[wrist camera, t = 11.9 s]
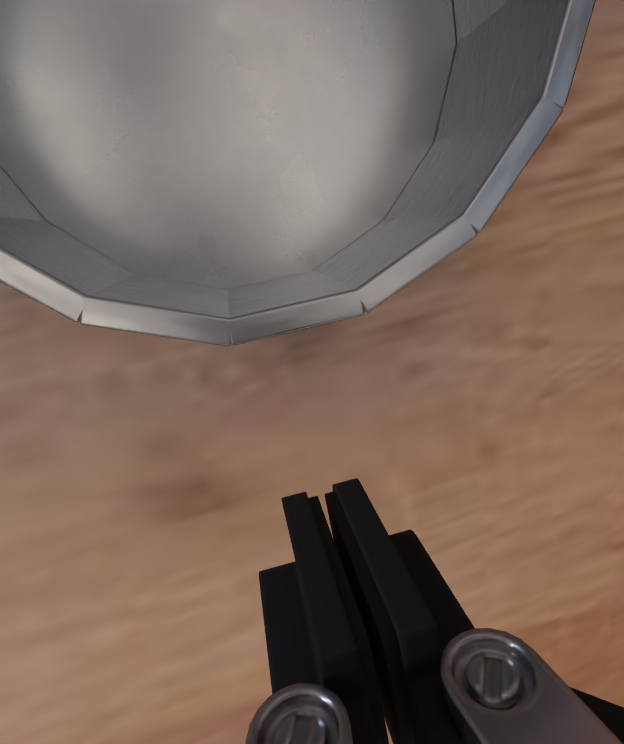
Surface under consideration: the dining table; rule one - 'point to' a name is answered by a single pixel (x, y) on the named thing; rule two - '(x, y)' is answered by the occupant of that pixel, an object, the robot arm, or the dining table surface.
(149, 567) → the dining table surface
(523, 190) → the dining table surface
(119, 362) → the dining table surface
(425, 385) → the dining table surface
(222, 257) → the steel pot
